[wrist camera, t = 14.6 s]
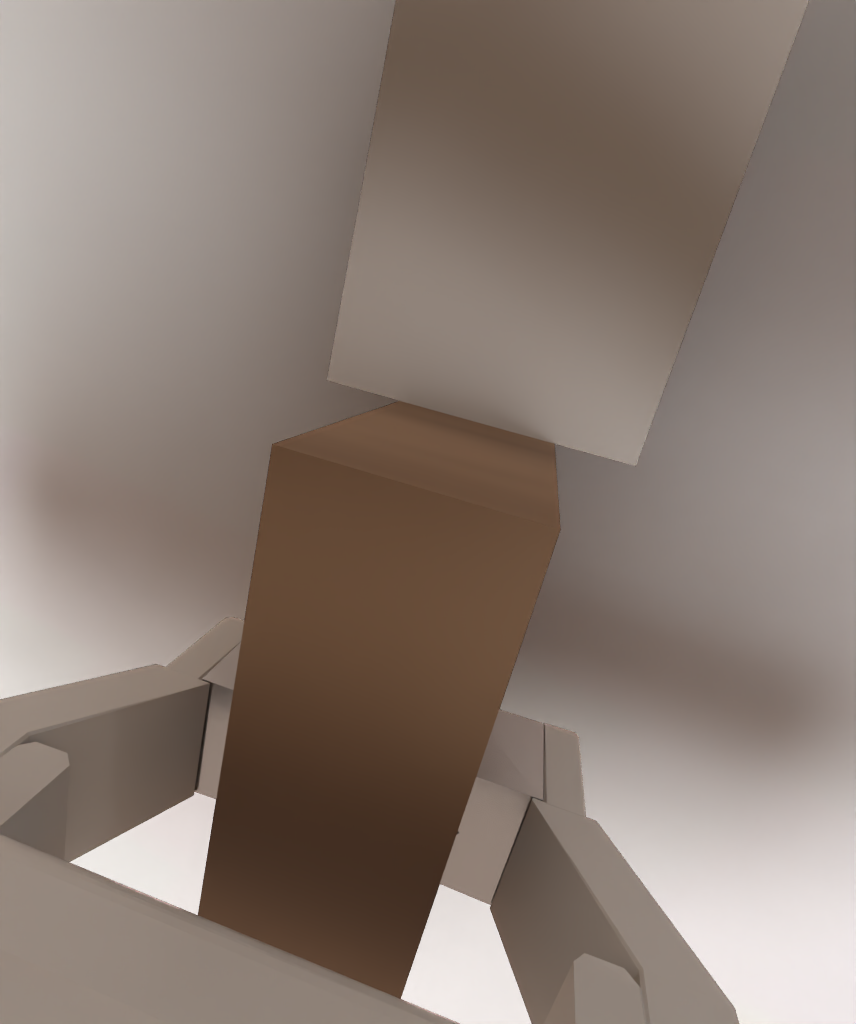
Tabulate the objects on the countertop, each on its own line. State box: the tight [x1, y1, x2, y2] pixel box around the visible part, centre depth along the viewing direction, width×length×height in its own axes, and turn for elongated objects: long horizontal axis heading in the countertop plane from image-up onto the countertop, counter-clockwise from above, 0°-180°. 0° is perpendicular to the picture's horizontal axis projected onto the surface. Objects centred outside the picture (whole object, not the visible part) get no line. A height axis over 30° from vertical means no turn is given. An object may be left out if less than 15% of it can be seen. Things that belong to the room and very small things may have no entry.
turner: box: [198, 0, 809, 999], centre depth 7 cm, size 16×5×5 cm, turn 166°
